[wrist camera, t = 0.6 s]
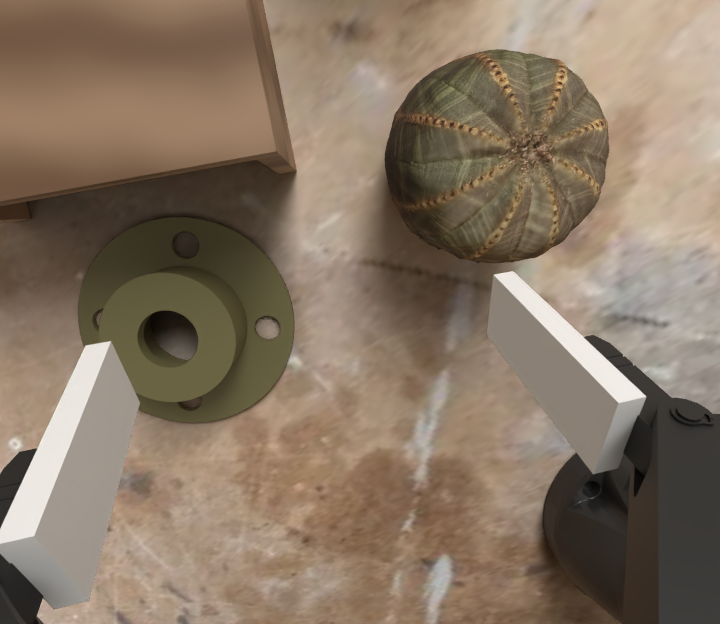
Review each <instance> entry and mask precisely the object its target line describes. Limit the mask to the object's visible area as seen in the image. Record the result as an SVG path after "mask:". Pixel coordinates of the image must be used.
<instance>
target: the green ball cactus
mask: <svg viewBox="0 0 720 624" xmlns="http://www.w3.org/2000/svg"><path fill="white" fill-rule="evenodd" d="M608 153H609V143H608V122H607V121H606V119H605V117H604V115H603V113H602V110H601V108H600V105H599V103H598V101H597V100H596V99H595V97H594V96H593V95H592V94H591V93H590V92H589V91H588V89H587V88H586V86H585V84H584V82H583V81H582V79H581V78H580V77H579V76H578V75H576V74H575V73H573V72H572V71H571V70H570V69H568V68H567V67H566V65H565V64H564V63H563V62H562V61H560V60H558V59H551V58H545V57H541V56H538V55H535V54H525V53H521V52H515V51H508V50H488V51H484V52H479V53H475V54H472V55H469V56H465V57H462V58H459V59H456V60H454V61H452V62H450V63H448V64H446V65H444V66H442V67H440V68H438V69H437V70H434V71H433V72H431V73H430V74H429V75H427V76H426V77H425V78H423V79H422V80H421V81H420V82H418V83H417V84H416V85H415V86H414V88H413V89H412V90H411V91H410V92H409V94H408V95H407V97H406V99H405V101H404V102H403V103H402V105H401V106H400V108H399V109H398V111H397V112H396V113H395V116H394V120H393V123H392V128H391V131H390V136H389V139H388V142H387V146H386V151H385V169H386V174H387V179H388V184H389V188H390V193H391V196H392V199H393V201H394V203H395V205H396V207H397V209H398V211H399V212H400V214H401V216H402V218H403V220H404V222H405V224H406V225H407V227H408V228H409V229H410V231H411V232H412V233H414V234H416V235H417V236H419V238H420V239H423V240H424V241H425V242H427V243H428V244H430V245H432V246H434V247H436V248H437V249H444V250H446V251H448V252H450V253H451V254H453V255H455V256H456V257H458V258H459V259H467V260H471V261H475V262H478V263H479V262H487V263H502V262H514V261H520V260H524V259H529V258H536V257H538V256H540V255H542V254H544V253H545V252H547V251H548V250H549V249H550V248H552V247H554V246H556V245H558V244H560V243H561V242H563V241H564V240H565V239H566V237H567V236H568V235H569V233H570V231H571V230H573V229H574V228H575V227H576V226H578V225H579V224H580V223H581V222H582V221H583V219H584V218H585V217H586V216H587V215H588V214H589V213H590V212H591V210H592V209H593V208H594V207H595V205H596V203H597V202H598V200H599V196H600V193H601V187H602V185H603V183H604V180H605V167H606V162H607V158H608Z"/></svg>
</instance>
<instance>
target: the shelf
mask: <svg viewBox="0 0 720 624" xmlns="http://www.w3.org/2000/svg"><path fill="white" fill-rule="evenodd" d="M252 160H258V161H260V162H261V163H263V164H264V165H266V166H267V167H269V168H270V169H272V170H274V171H275V172H277V173H278V174H283V173H288V172H294V171H297V170H296V165H295V160H294V155H293V150H292V145H291V140H290V135H289V130H288V125H287V120H286V115H285V110H284V105H283V100H282V95H281V90H280V85H279V80H278V75H277V70H276V65H275V60H274V55H273V50H272V45H271V40H270V35H269V30H268V25H267V20H266V15H265V10H264V5H263V0H0V223H7V222H18V221H24V220H29V219H31V216H30V213H29V210H28V207H27V204H26V201H32V200H37V199H43V198H48V197H54V196H59V195H65V194H70V193H76V192H81V191H87V190H92V189H98V188H103V187H109V186H114V185H120V184H125V183H131V182H136V181H142V180H147V179H153V178H159V177H164V176H170V175H175V174H181V173H186V172H192V171H197V170H203V169H208V168H214V167H219V166H225V165H230V164H236V163H241V162H247V161H252Z"/></svg>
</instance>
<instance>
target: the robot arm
mask: <svg viewBox="0 0 720 624" xmlns="http://www.w3.org/2000/svg"><path fill="white" fill-rule="evenodd" d="M487 337H488V338H489V339H490V341H491V342H492V343H493V345H494V346H495V347H496V348H497V350H498V351H499V352H500V354H501V355H502V356H503V358H504V359H505V360H506V361H507V363H508V364H509V365H510V367H511V368H512V369H513V371H514V372H515V373H516V374H517V376H518V377H519V378H520V380H521V381H522V382H523V384H524V385H525V386H526V387H527V389H528V390H529V391H530V393H531V394H532V395H533V397H534V398H535V399H536V401H537V402H538V403H539V404H540V406H541V407H542V408H543V410H544V411H545V412H546V414H547V415H548V416H549V417H550V419H551V420H552V421H553V423H554V424H555V425H556V427H557V428H558V429H559V430H560V432H561V433H562V434H563V436H564V437H565V438H566V440H567V441H568V442H569V443H570V445H571V446H572V447H573V449H574V450H575V451H576V454H575V455H574V456H573V457H572V458H571V459H570V460H569V461H568V462H567V463H566V465H565V466H564V467H563V468H562V470H561V471H560V472H559V474H558V475H557V477H556V478H555V480H554V482H553V484H552V486H551V488H550V491H549V494H548V496H547V500H546V504H545V509H544V530H545V535H546V539H547V542H548V545H549V547H550V549H551V551H552V553H553V555H554V556H555V558H556V560H557V561H558V563H559V564H560V566H561V567H562V569H563V571H564V572H565V574H566V575H567V576H568V578H569V579H570V580H571V581H572V582H573V583H574V585H575V586H576V587H577V588H579V589H580V590H581V591H582V592H583V593H584V594H586V595H588V596H589V597H590V598H592V599H593V600H594V601H595V602H596V603H597V604H599V605H600V606H601V607H602V608H603V609H605V610H606V611H607V612H608V613H609V614H611V615H612V616H613V617H614V618H615V619H617V620H618V621H619V622H620V623H622V624H720V414H712V413H711V412H710V411H709V410H708V409H706V408H705V407H703V406H701V405H699V404H698V403H695V402H692V401H689V400H687V399H680V398H671V397H670V396H669V395H668V394H667V393H665V392H664V391H663V390H662V389H661V388H660V387H659V386H658V385H656V384H655V383H654V382H653V381H652V380H651V379H650V378H649V377H647V376H646V375H645V374H644V373H643V372H642V371H641V370H640V369H638V368H637V367H636V366H633V363H632V362H631V361H629V360H628V359H627V358H626V357H623V354H622V353H620V352H619V351H618V350H617V349H616V348H615V347H614V346H613V345H611V344H610V343H608V342H606V341H604V340H602V339H600V338H598V337H596V336H594V335H591V336H586V337H583V336H581V335H580V334H579V333H578V332H577V331H576V330H575V329H574V328H573V327H572V326H571V325H570V324H569V323H568V322H567V321H566V320H564V319H563V318H562V317H561V316H560V315H559V314H558V313H557V312H556V311H555V310H554V309H553V308H552V307H551V306H550V305H549V304H547V303H546V302H545V301H544V300H543V299H542V298H541V297H540V296H539V295H538V294H537V293H536V292H535V291H534V290H533V289H531V288H530V287H529V286H528V285H527V284H526V283H525V282H524V281H523V280H522V279H521V278H520V277H519V276H518V275H517V274H516V273H514V272H513V271H511V272H505V273H500V274H494V275H493V283H492V291H491V300H490V309H489V318H488V327H487ZM139 405H140V402H139V400H138V397H137V395H136V393H135V391H134V389H133V387H132V385H131V383H130V380H129V378H128V376H127V374H126V372H125V370H124V368H123V366H122V363H121V361H120V359H119V357H118V355H117V353H116V351H115V349H114V346H113V344H112V342H111V341H109V342H103V343H98V344H92V345H86V346H85V348H84V350H83V352H82V354H81V357H80V359H79V361H78V363H77V365H76V367H75V369H74V372H73V374H72V376H71V378H70V380H69V382H68V384H67V387H66V389H65V391H64V393H63V395H62V397H61V399H60V402H59V404H58V406H57V408H56V410H55V412H54V414H53V417H52V419H51V421H50V423H49V425H48V427H47V429H46V432H45V434H44V436H43V438H42V440H41V442H40V444H39V447H38V448H37V449H32V450H27V451H22V452H19V453H18V454H17V455H16V456H15V457H14V458H13V459H12V461H11V462H10V463H9V464H8V465H7V466H6V467H5V468H4V469H3V470H2V472H1V474H0V624H43V623H42V621H41V620H40V619H39V618H38V617H37V613H38V610H39V607H40V604H41V602H42V599H44V600H45V601H46V602H47V603H48V604H49V605H50V606H51V607H52V608H53V609H58V608H62V607H66V606H70V605H74V604H78V603H82V602H86V601H89V599H90V595H91V591H92V587H93V583H94V580H95V576H96V572H97V568H98V564H99V560H100V556H101V552H102V548H103V545H104V541H105V537H106V533H107V529H108V525H109V521H110V517H111V514H112V510H113V506H114V502H115V498H116V494H117V490H118V486H119V482H120V479H121V475H122V471H123V467H124V463H125V459H126V455H127V451H128V448H129V444H130V440H131V436H132V432H133V428H134V424H135V420H136V416H137V413H138V409H139Z"/></svg>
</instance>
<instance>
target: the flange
mask: <svg viewBox="0 0 720 624" xmlns="http://www.w3.org/2000/svg"><path fill="white" fill-rule="evenodd" d="M183 231H186V232H190V233H192V234H193V235H194V236H195V237H196V238H197V239H198V242H199V251H198V253H197V254H196V255H195V256H194V257H193V258H184V257H182V256H180V255H179V254H178V253H177V252H176V250H175V247H174V240H175V238H176V236H177V235H178V234H179V233H181V232H183ZM100 309H103V312H102V315H101V318H100V323H99V326H98V325H97V322H96V315H97V313H98V311H99V310H100ZM162 310H168V311H174V312H177V313H179V314H182V315H183V316H185V317H186V318H187V319H188V320H189V321H190V322H191V323H192V324H193V326H194V327H195V329H196V332H197V335H198V347H197V351H196V353H195V355H194V356H193V357H192V358H191V359H189V360H183V359H179V358H176V357H174V356H172V355H170V354H169V353H167V352H166V351H165V350H163V349H162V348H161V347H160V346H159V344H158V343H157V342H156V340H155V338H154V336H153V334H152V331H151V327H150V316H151V315H152V314H153V313H154V312H157V311H162ZM262 316H271V317H274V318H275V319H276V320H277V321H278V322H279V324H280V333H279V335H278V336H277V337H275V338H273V339H265V338H262V337H261V336H260V335H259V334H258V333H257V331H256V328H255V324H256V321H257V320H258V319H259V318H260V317H262ZM78 321H79V329H80V334H81V338H82V342H83V345H84V348H85V346H86V345H92V344H98V343H103V342H109V341H111V342H112V344H113V346H114V349H115V351H116V353H117V355H118V357H119V359H120V361H121V363H122V366H123V368H124V370H125V372H126V374H127V376H128V378H129V380H130V383H131V385H132V387H133V389H134V391H135V393H136V395H137V397H138V400H139V402H140V405H139V409H140V410H142V411H144V412H146V413H148V414H151V415H153V416H156V417H159V418H163V419H166V420H171V421H177V422H187V423H200V422H210V421H215V420H220V419H223V418H227V417H230V416H232V415H235V414H237V413H239V412H241V411H243V410H245V409H247V408H249V407H250V406H252V405H253V404H255V403H256V402H257V401H258V400H260V399H261V398H262V397H263V396H264V395H265V394H266V393H267V392H268V391H269V390H270V389H271V388H272V387H273V385H274V384H275V383H276V381H277V380H278V378H279V377H280V375H281V374H282V372H283V370H284V368H285V366H286V363H287V361H288V358H289V355H290V352H291V348H292V344H293V338H294V313H293V307H292V302H291V298H290V295H289V292H288V289H287V287H286V284H285V282H284V280H283V278H282V276H281V275H280V273H279V271H278V270H277V268H276V267H275V265H274V264H273V263H272V261H271V260H270V259H269V258H268V256H267V255H266V254H265V253H264V252H263V251H262V250H261V249H260V248H259V247H258V246H256V245H255V244H254V243H253V242H252V241H250V240H249V239H248V238H246V237H245V236H243V235H242V234H240V233H238V232H236V231H235V230H233V229H231V228H228V227H226V226H224V225H221V224H218V223H215V222H212V221H208V220H204V219H199V218H190V217H170V218H161V219H156V220H151V221H148V222H144V223H142V224H139V225H137V226H134V227H132V228H130V229H128V230H126V231H125V232H123V233H121V234H120V235H118V236H117V237H116V238H114V239H113V240H112V241H111V242H110V243H108V244H107V245H106V246H105V247H104V248H103V249H102V251H101V252H100V253H99V254H98V255H97V257H96V258H95V260H94V261H93V263H92V264H91V266H90V268H89V270H88V272H87V274H86V276H85V278H84V281H83V284H82V288H81V292H80V297H79V305H78ZM200 396H202V404H201V405H200V406H199V407H196V408H188V407H186V406H184V405H183V404H182V403H181V401H187V400H191V399H195V398H197V397H200Z"/></svg>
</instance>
